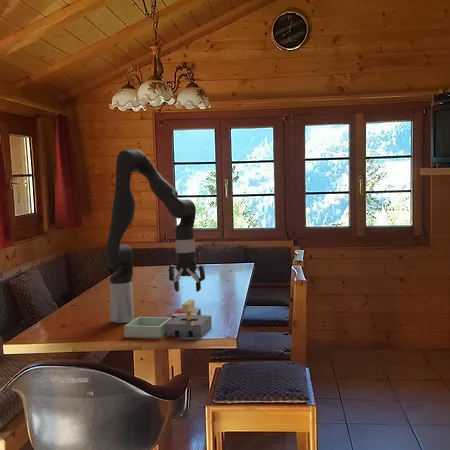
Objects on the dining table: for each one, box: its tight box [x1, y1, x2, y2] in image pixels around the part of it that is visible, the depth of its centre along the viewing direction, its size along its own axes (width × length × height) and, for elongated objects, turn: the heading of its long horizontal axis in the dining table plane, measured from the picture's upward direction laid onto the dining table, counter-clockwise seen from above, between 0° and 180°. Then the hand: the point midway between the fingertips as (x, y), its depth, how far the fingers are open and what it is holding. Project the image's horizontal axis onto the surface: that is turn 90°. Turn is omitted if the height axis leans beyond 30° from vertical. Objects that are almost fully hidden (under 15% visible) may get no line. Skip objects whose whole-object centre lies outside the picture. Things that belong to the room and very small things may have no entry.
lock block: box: [166, 314, 213, 339], centre depth 230 cm, size 14×14×5 cm
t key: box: [181, 299, 196, 333], centre depth 229 cm, size 8×2×12 cm, turn 164°
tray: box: [123, 316, 173, 339], centre depth 231 cm, size 15×14×4 cm
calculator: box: [170, 307, 202, 319], centre depth 250 cm, size 11×4×15 cm
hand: (187, 291), depth 228 cm, fingers open, 8 cm apart
